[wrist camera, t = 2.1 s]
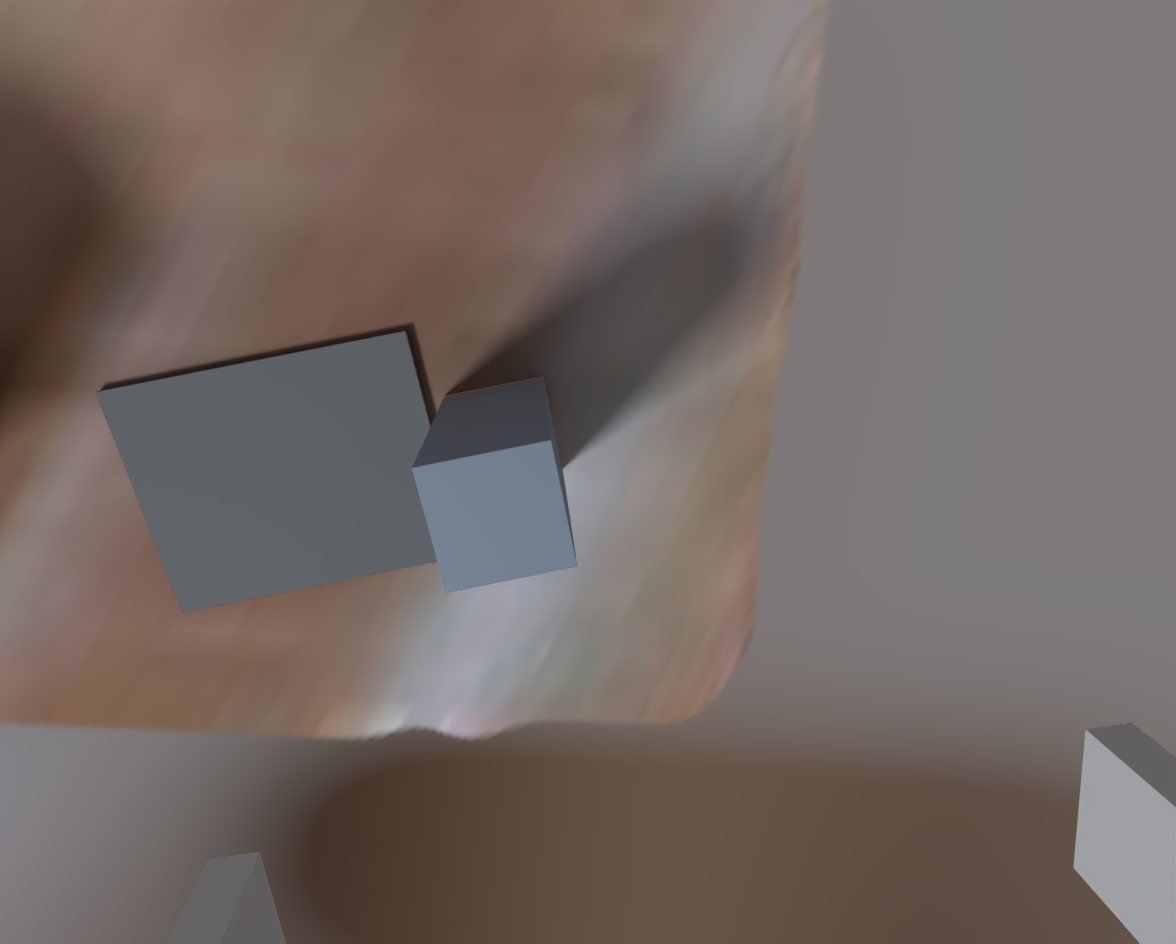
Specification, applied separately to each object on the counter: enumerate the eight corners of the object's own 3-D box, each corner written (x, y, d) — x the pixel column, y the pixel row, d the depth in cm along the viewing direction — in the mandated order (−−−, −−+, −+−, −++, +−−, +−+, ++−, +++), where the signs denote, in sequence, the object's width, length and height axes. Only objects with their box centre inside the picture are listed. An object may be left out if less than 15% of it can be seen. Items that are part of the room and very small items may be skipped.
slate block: (543, 375, 39) (550, 440, 28) (562, 469, 41) (577, 566, 29) (445, 395, 39) (411, 468, 27) (468, 487, 40) (445, 593, 29)
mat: (406, 329, 38) (405, 331, 37) (464, 552, 42) (463, 555, 41) (99, 390, 38) (95, 392, 37) (185, 609, 41) (182, 612, 41)
